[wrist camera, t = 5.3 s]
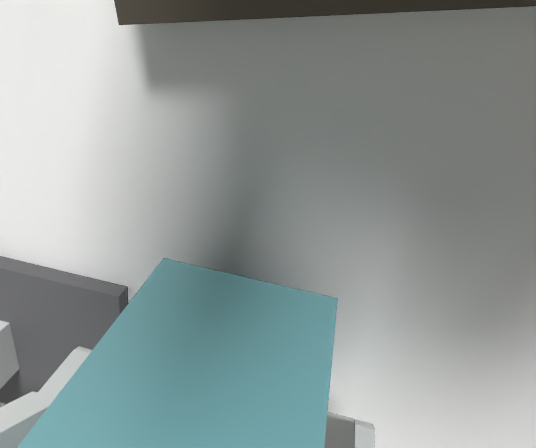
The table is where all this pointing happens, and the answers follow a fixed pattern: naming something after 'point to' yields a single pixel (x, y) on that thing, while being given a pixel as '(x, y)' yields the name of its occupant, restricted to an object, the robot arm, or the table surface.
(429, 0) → the building model
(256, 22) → the table surface
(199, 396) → the teal block
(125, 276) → the table surface
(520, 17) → the table surface
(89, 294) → the stand
